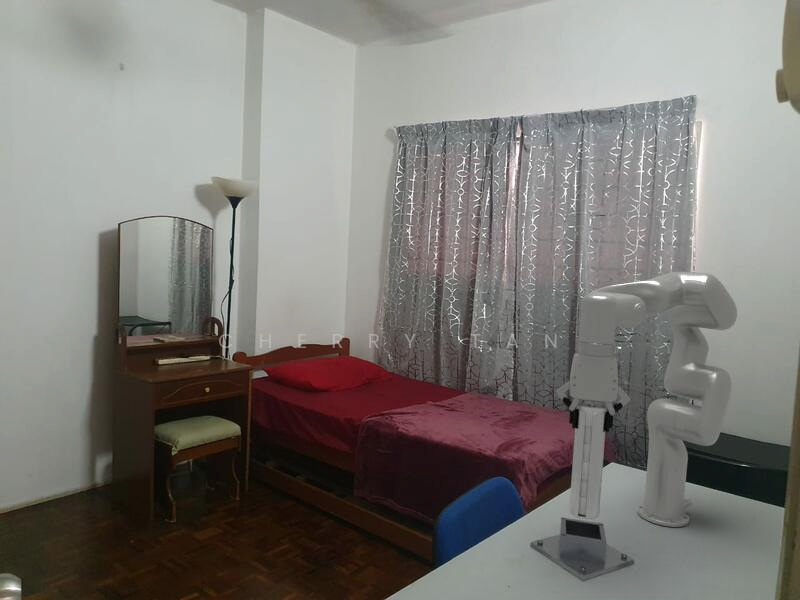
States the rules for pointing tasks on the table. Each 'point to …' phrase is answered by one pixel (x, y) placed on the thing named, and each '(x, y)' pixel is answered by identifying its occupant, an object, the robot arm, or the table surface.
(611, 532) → the table surface
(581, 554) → the metal base plate
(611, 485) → the table surface
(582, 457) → the air filter
